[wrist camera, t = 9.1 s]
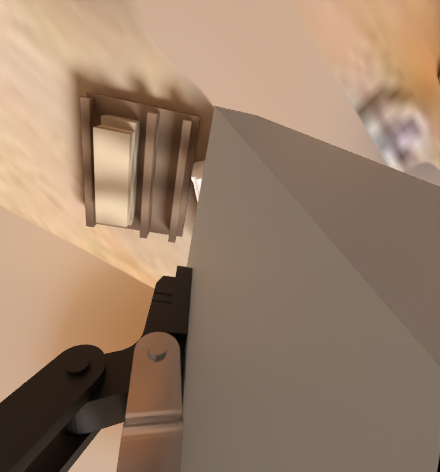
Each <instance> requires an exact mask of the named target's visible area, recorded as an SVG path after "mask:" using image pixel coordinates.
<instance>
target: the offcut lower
mask: <svg viewBox="0 0 440 472" xmlns="http://www.w3.org/2000/svg"><path fill="white" fill-rule="evenodd" d="M101 125H104V126H109V127H114V128H119V129H124V130H129V131H133V132H135V147H134V171H133V194H132V218H131V221H130V223H129V224H128V225H132V223H133V221H134V220H135V215H136V195H137V175H138V154H139V134H140V121H136V120H131V119H126V118H122V117H117V116H112V115H103V116H101Z"/></svg>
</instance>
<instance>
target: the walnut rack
mask: <svg viewBox="0 0 440 472" xmlns="http://www.w3.org/2000/svg"><path fill="white" fill-rule="evenodd" d="M80 111H81V131H82V151H83V171H84V190H85V210H86V226H89V227H94V226H95V225H96V224H101V225H107V226H114V227H121V228H127V229H134V230H140V238H147V236H148V234H149V232H154V233H161V234H167V235H169V239H168V242H174V243H175V240H176V236H180V237H182V234H183V227H184V221H185V214H186V207H187V201H188V194H189V188H190V181H191V174H192V168H193V161H194V154H195V148H196V141H197V134H198V128H199V121H200V116H196V115H192V114H187V113H182V112H178V111H173V110H169V109H164V108H160V107H155V106H150V105H146V104H141V103H137V102H132V101H128V100H123V99H118V98H114V97H109V96H105V95H100V94H96V93H89V92H87V97H80ZM103 115H112V116H117V117H122V118H126V119H131V120H136V121H140V134H139V154H138V175H137V195H136V215H135V220H134V221H133V223H132V225H128V226H127V227H122V226H116V225H109V224H103V223H96V208H95V175H94V143H93V127H95V126H99V125H101V116H103Z"/></svg>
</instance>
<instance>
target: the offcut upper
mask: <svg viewBox="0 0 440 472" xmlns="http://www.w3.org/2000/svg"><path fill="white" fill-rule="evenodd" d="M93 143H94V175H95V208H96V223H103V224H109V225H116V226H122V227H127V226H128V224H129V223H130V221H131V218H132V194H133V171H134V147H135V132H133V131H129V130H124V129H119V128H114V127H109V126H104V125H99V126H95V127H93Z"/></svg>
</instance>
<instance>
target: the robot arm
mask: <svg viewBox="0 0 440 472" xmlns="http://www.w3.org/2000/svg"><path fill="white" fill-rule="evenodd" d="M192 271H193V268H191V267H183V266H177V272H176V277H170V276H163V277H162V278H161V279H160V280H159V281H158V282H157V283H156V286H155V290H154V294H153V298H152V302H151V306H150V309H149V314H148V317H147V321H146V325H145V329H144V332H143V335H142V336H141V338H140V339H139V340H138V341H137V342H136V343H135V344H134V345H133V346H131V347H129V348H127V349H124V350H121V351H116V352H112V353H106V354H104V353H103V352H102V350H101V349H99V348H98V347H96V346H93V345H78V346H74V347H72V348H69V349H67V350H66V351H64V352H62V353H61V354H60V355H59V356H57V357H56V358H55V359H54V360H52V361H51V362H50V363H49V364H47V365H46V366H45V367H44V368H42V369H41V370H40V371H39V372H38V373H36V374H35V375H34V376H33V377H31V378H30V379H29V380H28V381H27V382H25V383H24V384H23V385H22V386H20V387H19V388H18V389H17V390H15V391H14V392H13V393H12V394H11V395H9V396H8V397H7V398H6V399H4V400H3V401H2V402H1V403H0V472H68V470H69V469H70V468H71V466H72V465H73V464H74V463H75V461H76V460H77V459H78V458H79V456H80V455H81V454H82V453H83V451H84V450H85V449H86V448H87V446H88V445H89V444H90V442H91V441H92V440H93V439H94V437H95V436H96V435H97V433H98V432H99V431H100V430H101V429H102V428H106V427H109V426H112V425H115V424H119V423H122V422H124V424H123V430H122V436H121V443H120V450H119V458H118V464H117V472H181V458H182V443H183V425H184V420H183V416H182V394H181V365H182V360H183V355H184V350H185V345H186V340H187V335H188V325H189V311H190V298H191V285H192Z"/></svg>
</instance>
